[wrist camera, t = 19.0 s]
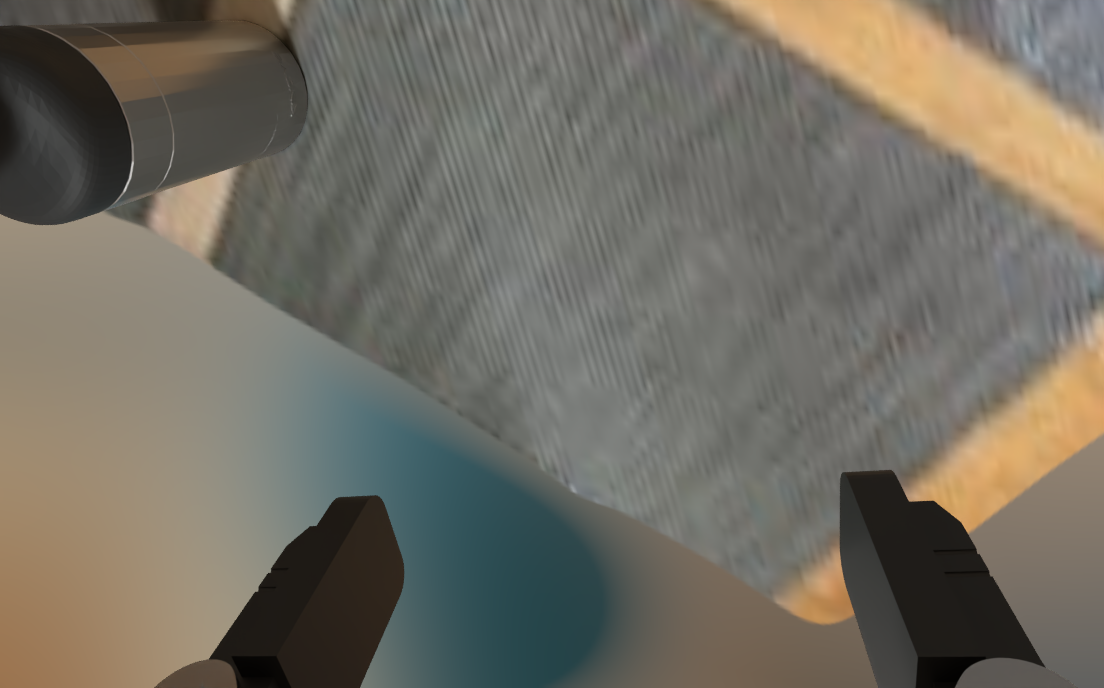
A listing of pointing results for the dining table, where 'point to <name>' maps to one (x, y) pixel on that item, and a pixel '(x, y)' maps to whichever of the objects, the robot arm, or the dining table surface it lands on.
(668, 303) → the dining table surface
